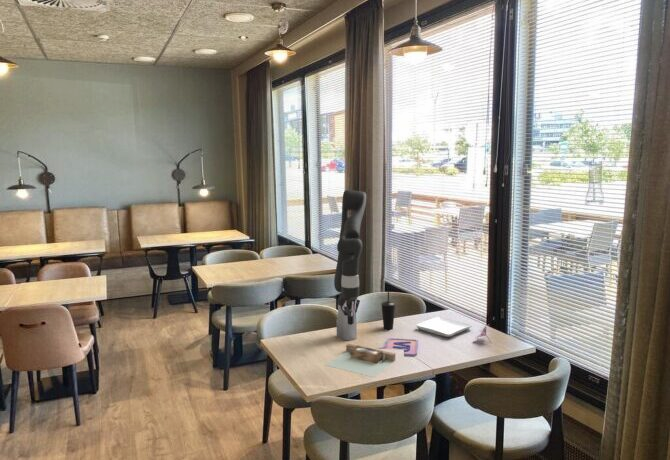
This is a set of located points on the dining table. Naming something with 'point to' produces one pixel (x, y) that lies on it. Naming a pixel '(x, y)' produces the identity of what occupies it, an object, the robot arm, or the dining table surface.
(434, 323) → the salad plate
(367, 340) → the dining table surface
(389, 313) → the drinking cup
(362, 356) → the frame
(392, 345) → the icon
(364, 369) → the wall panel
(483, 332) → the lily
